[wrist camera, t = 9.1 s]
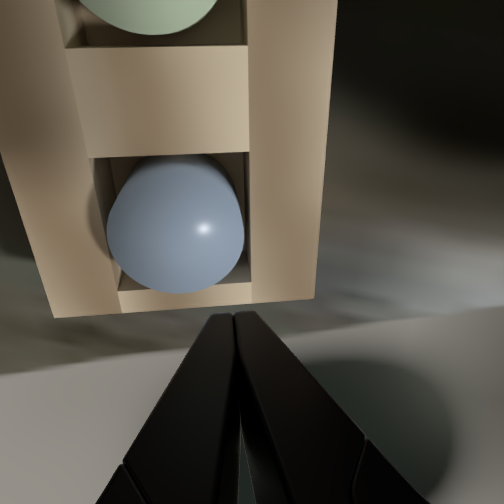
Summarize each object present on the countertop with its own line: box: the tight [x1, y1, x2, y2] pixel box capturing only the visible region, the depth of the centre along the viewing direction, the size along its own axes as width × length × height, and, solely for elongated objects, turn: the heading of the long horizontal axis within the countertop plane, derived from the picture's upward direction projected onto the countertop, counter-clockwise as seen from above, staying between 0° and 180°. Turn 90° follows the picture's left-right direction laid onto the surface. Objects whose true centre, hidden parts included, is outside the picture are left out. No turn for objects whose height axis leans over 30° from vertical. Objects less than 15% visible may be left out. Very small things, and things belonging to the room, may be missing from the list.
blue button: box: [107, 153, 244, 294], centre depth 14 cm, size 4×4×3 cm
